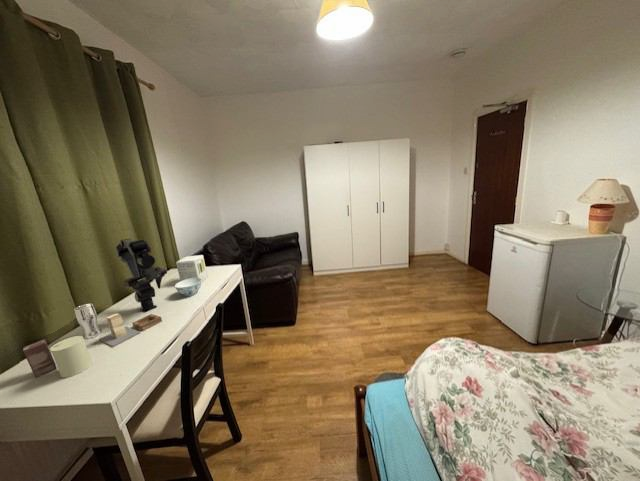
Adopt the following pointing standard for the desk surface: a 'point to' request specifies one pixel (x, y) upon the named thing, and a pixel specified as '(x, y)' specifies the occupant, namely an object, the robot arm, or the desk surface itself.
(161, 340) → the desk surface
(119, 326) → the peg
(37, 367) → the box
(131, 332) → the rubber mat
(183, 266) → the supplement box
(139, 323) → the collar
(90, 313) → the beer glass
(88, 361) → the can
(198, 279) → the chinaware
